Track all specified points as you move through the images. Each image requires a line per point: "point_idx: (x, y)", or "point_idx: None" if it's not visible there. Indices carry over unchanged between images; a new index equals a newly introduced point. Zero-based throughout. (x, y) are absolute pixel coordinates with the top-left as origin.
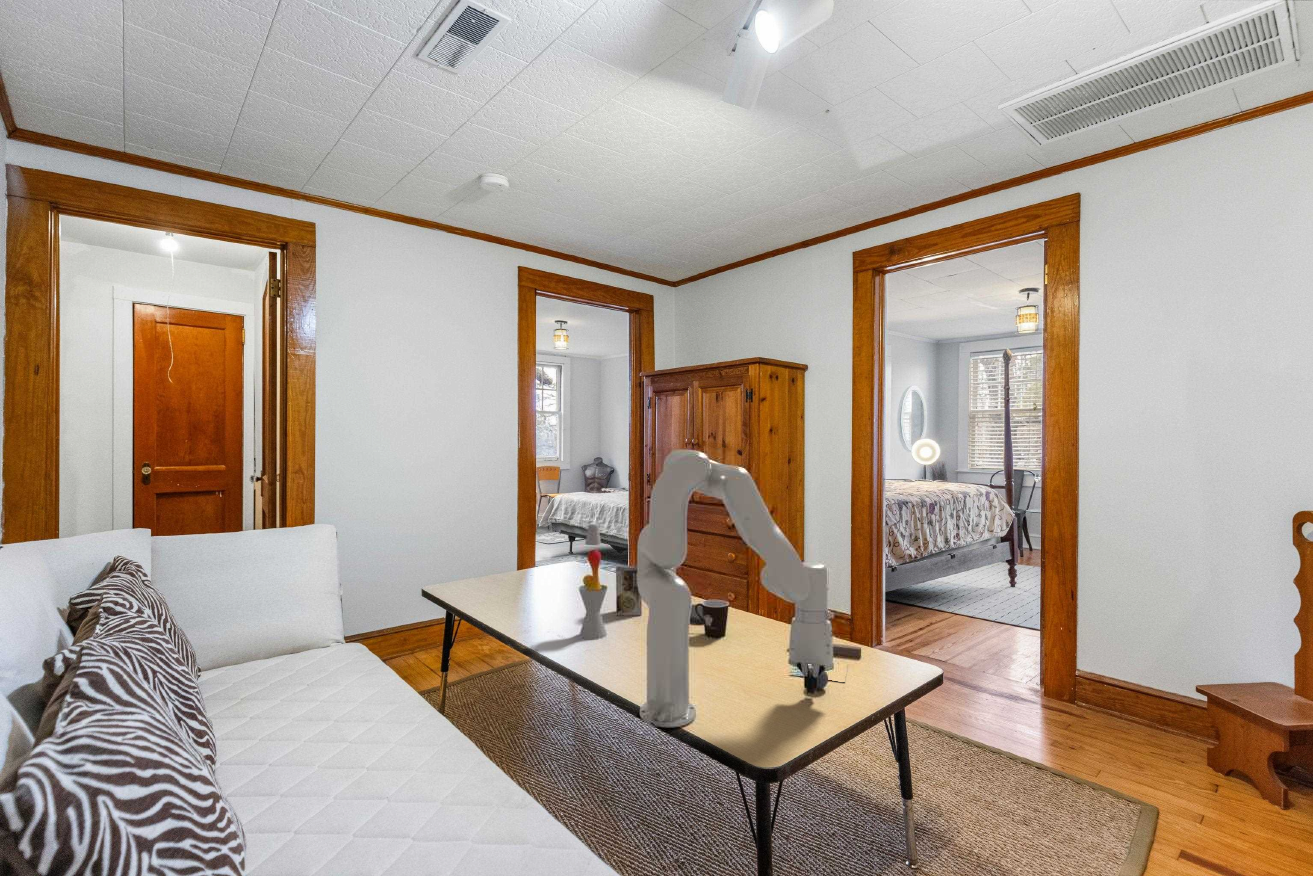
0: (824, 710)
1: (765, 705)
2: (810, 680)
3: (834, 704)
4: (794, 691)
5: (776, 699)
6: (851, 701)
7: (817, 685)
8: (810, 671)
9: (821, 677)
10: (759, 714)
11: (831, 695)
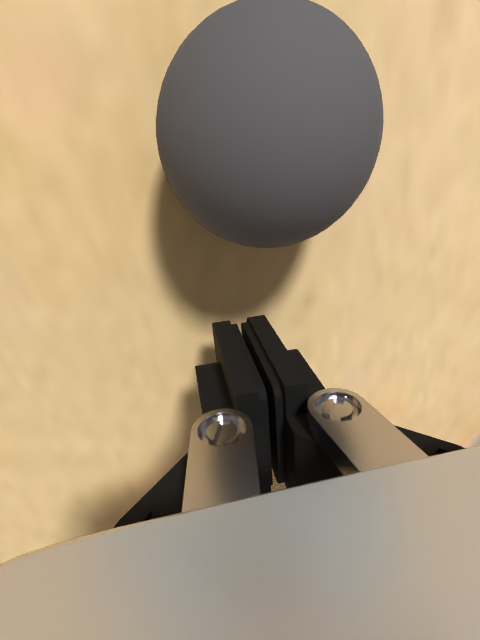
0: None
1: (26, 543)
2: (272, 468)
3: (374, 351)
4: (95, 291)
5: (42, 459)
6: (469, 263)
7: (299, 355)
8: (207, 184)
9: (329, 224)
10: None
11: (354, 231)
